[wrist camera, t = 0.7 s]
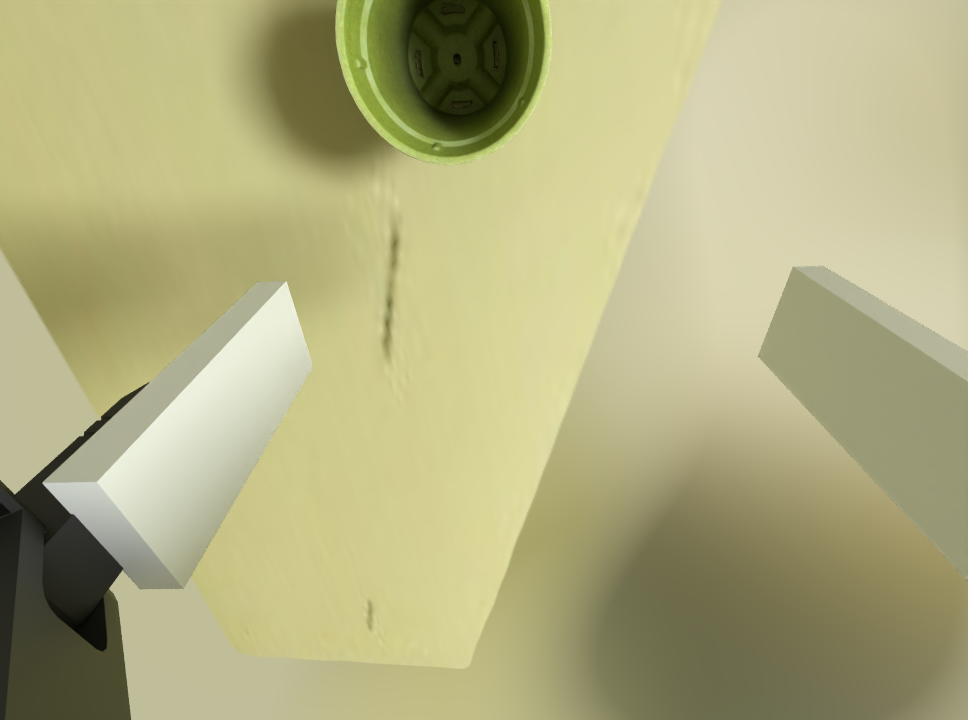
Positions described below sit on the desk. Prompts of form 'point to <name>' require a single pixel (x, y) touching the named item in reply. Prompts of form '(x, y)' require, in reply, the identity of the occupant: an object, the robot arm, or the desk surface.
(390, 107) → the plant pot
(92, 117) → the desk surface
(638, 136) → the desk surface
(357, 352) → the desk surface
